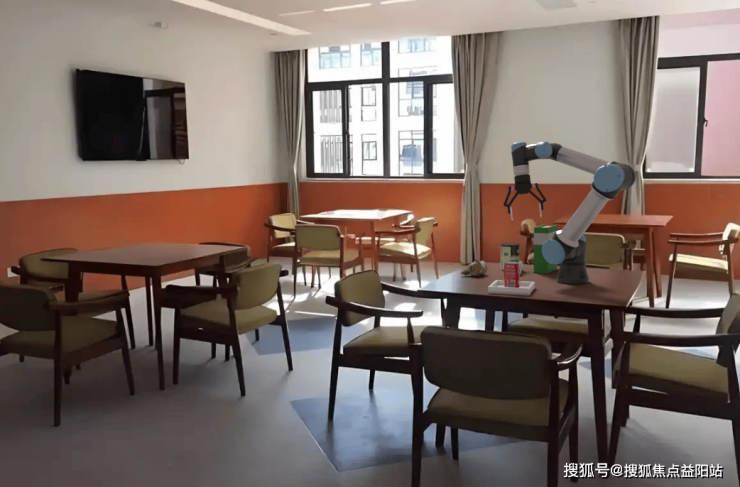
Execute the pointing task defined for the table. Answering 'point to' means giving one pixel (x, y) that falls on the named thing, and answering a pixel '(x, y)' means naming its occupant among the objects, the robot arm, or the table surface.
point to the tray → (511, 288)
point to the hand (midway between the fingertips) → (526, 218)
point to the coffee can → (509, 253)
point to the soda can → (512, 274)
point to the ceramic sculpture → (476, 268)
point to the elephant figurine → (520, 265)
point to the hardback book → (540, 238)
